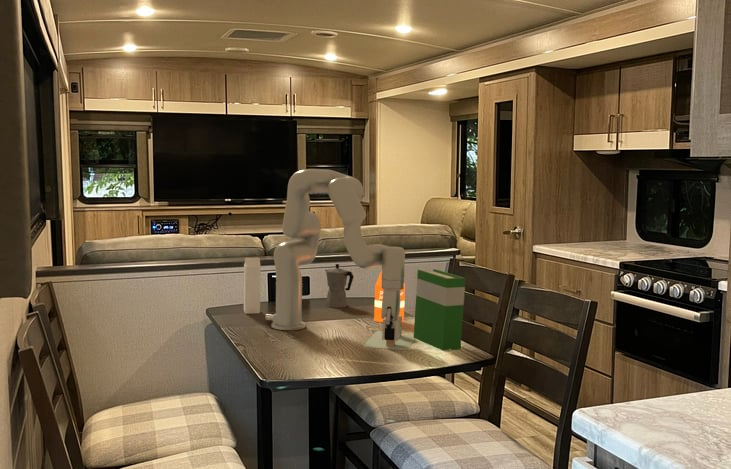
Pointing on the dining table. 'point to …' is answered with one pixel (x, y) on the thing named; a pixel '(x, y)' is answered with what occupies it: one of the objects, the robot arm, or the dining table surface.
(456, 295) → the hardback book
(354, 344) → the dining table surface
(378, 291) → the orange juice
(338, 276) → the coffeepot
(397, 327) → the beige foam cube
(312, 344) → the dining table surface
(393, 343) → the post
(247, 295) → the milk
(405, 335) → the mat
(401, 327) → the post
